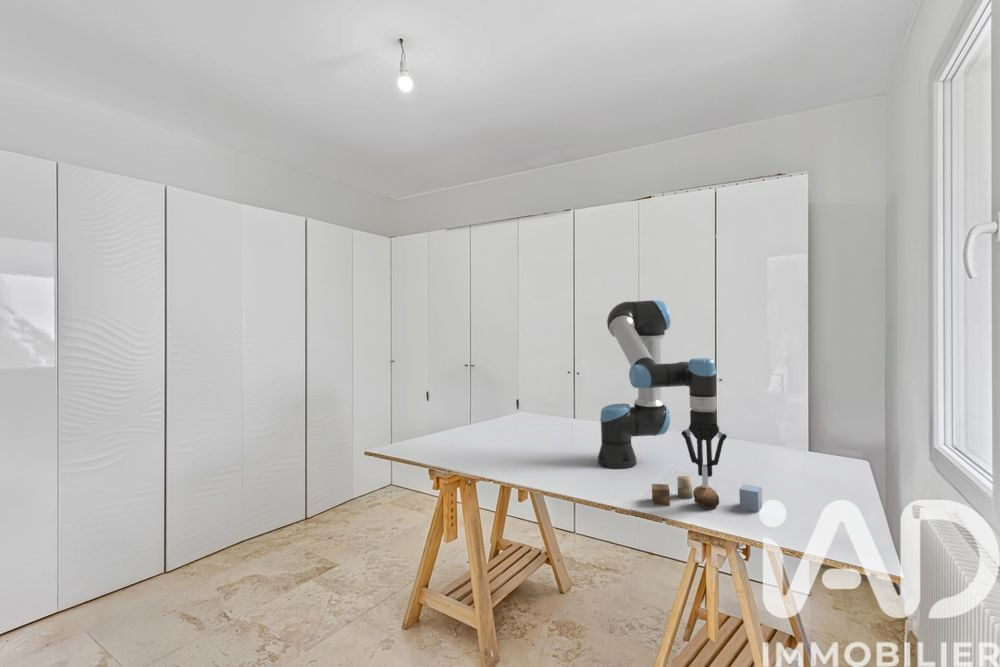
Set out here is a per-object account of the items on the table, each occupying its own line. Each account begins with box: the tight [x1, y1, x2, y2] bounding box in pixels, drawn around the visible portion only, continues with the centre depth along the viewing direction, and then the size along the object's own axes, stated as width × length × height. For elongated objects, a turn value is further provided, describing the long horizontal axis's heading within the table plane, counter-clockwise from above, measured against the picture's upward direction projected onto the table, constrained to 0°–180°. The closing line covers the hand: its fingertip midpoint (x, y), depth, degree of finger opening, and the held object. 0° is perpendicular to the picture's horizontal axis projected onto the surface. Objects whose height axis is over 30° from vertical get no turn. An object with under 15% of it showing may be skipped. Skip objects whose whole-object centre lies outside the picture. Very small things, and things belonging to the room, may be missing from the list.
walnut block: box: [651, 483, 671, 507], centre depth 152 cm, size 5×5×5 cm
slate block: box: [738, 483, 763, 513], centre depth 145 cm, size 5×5×6 cm
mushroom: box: [692, 484, 720, 510], centre depth 148 cm, size 8×8×6 cm
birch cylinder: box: [676, 475, 694, 500], centre depth 156 cm, size 4×4×6 cm
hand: (705, 486), depth 147 cm, fingers closed
